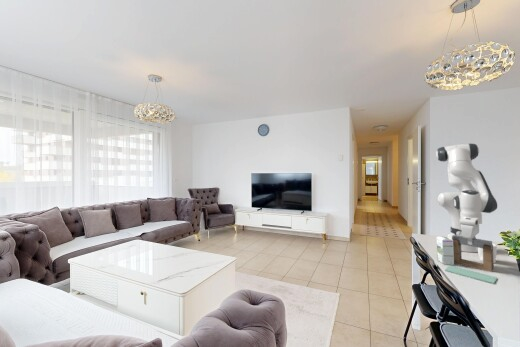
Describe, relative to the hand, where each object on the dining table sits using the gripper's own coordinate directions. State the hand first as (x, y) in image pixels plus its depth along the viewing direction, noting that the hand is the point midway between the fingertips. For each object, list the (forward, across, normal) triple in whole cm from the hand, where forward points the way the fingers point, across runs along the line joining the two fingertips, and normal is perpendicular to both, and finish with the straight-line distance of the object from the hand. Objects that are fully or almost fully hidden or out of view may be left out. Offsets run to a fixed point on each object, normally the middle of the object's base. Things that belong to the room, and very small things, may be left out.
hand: (471, 243), depth 123 cm
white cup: (+13, -14, +4) cm, 19 cm away
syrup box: (+12, +8, -10) cm, 18 cm away
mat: (+12, +16, +2) cm, 20 cm away
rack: (+12, 0, 0) cm, 12 cm away
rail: (+1, 0, 0) cm, 1 cm away
